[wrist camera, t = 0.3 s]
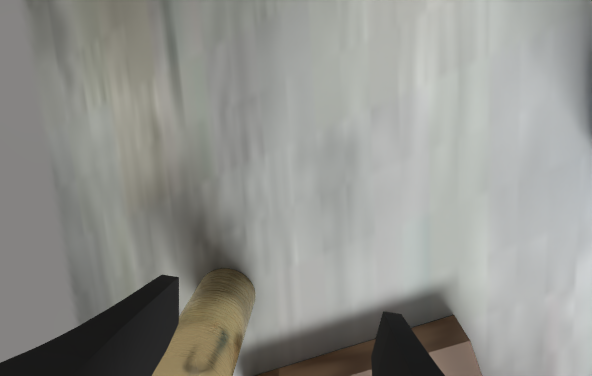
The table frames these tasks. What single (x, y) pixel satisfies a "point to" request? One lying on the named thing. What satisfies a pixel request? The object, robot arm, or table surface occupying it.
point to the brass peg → (210, 327)
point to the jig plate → (357, 359)
